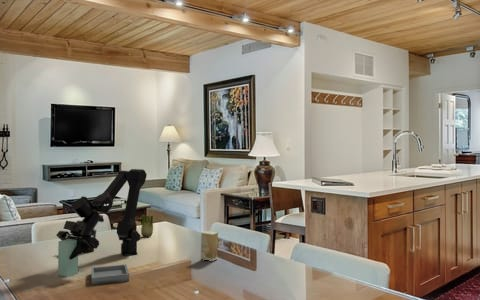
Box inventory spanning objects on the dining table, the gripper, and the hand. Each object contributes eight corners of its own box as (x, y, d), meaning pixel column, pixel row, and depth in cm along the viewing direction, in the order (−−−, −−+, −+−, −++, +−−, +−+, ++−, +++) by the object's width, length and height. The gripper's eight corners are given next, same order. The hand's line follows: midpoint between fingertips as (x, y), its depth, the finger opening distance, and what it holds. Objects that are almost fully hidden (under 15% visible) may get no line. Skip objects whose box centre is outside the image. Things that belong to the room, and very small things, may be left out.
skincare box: (200, 260, 176) (200, 232, 176) (205, 257, 180) (205, 230, 180) (212, 262, 173) (213, 234, 173) (218, 259, 177) (218, 232, 177)
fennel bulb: (153, 236, 222) (153, 214, 221) (149, 238, 217) (149, 216, 217) (144, 235, 223) (144, 214, 223) (139, 237, 218) (139, 215, 218)
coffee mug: (99, 249, 193) (99, 228, 193) (91, 254, 184) (91, 232, 184) (76, 248, 194) (76, 227, 194) (66, 253, 185) (67, 231, 185)
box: (126, 270, 161) (126, 264, 161) (129, 280, 148) (129, 274, 148) (91, 273, 156) (91, 267, 156) (91, 284, 144) (91, 278, 144)
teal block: (69, 271, 159) (69, 238, 159) (77, 273, 157) (78, 240, 156) (58, 275, 154) (58, 241, 154) (67, 277, 152) (67, 243, 152)
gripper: (60, 210, 163) (35, 243, 153) (93, 214, 155) (69, 249, 145) (76, 226, 170) (53, 259, 160) (108, 231, 162) (86, 265, 152)
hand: (65, 258), depth 154 cm, fingers closed on teal block, 5 cm apart
